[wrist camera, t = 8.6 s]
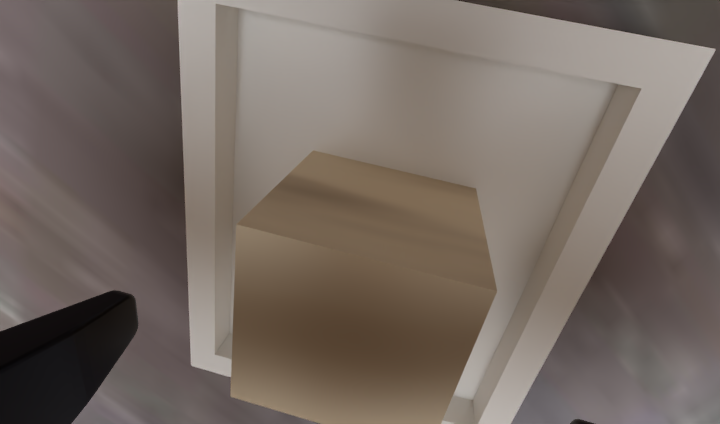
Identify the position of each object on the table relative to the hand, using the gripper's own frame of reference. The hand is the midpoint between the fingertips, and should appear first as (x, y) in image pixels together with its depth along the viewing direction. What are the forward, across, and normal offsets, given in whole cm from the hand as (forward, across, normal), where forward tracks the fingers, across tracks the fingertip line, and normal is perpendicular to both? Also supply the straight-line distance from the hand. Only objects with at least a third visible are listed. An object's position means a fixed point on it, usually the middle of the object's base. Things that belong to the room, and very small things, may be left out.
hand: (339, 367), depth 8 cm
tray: (+6, 0, 0) cm, 6 cm away
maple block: (+6, 0, 0) cm, 6 cm away
